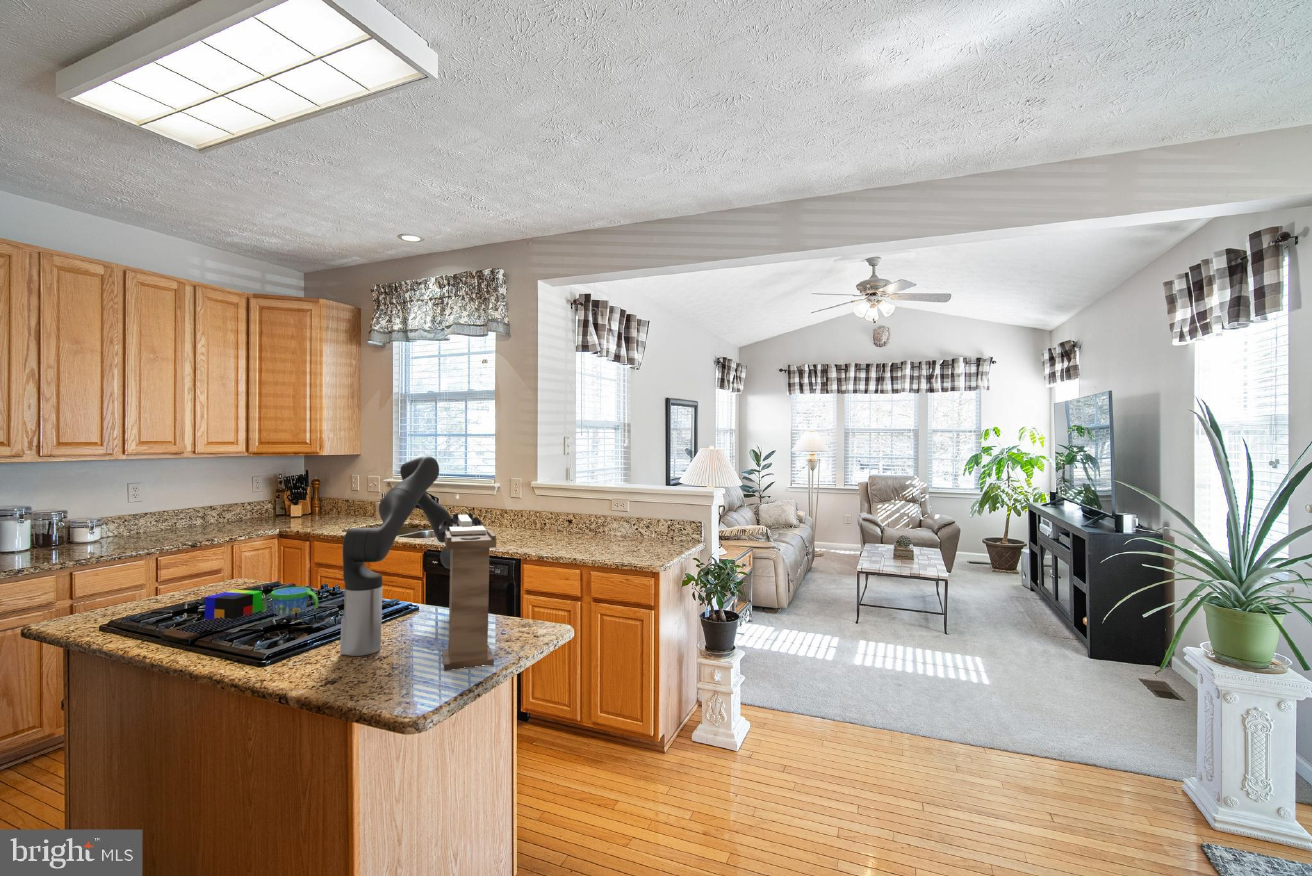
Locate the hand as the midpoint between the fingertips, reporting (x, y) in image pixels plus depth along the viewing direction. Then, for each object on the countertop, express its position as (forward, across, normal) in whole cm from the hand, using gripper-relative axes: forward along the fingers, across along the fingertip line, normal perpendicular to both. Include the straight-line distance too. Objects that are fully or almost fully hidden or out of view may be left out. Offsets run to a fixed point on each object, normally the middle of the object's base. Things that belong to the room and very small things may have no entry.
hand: (463, 515), depth 179 cm
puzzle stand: (+4, 0, +43) cm, 43 cm away
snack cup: (-42, -49, +17) cm, 67 cm away
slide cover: (+5, 0, +6) cm, 8 cm away
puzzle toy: (-43, -64, +16) cm, 79 cm away
